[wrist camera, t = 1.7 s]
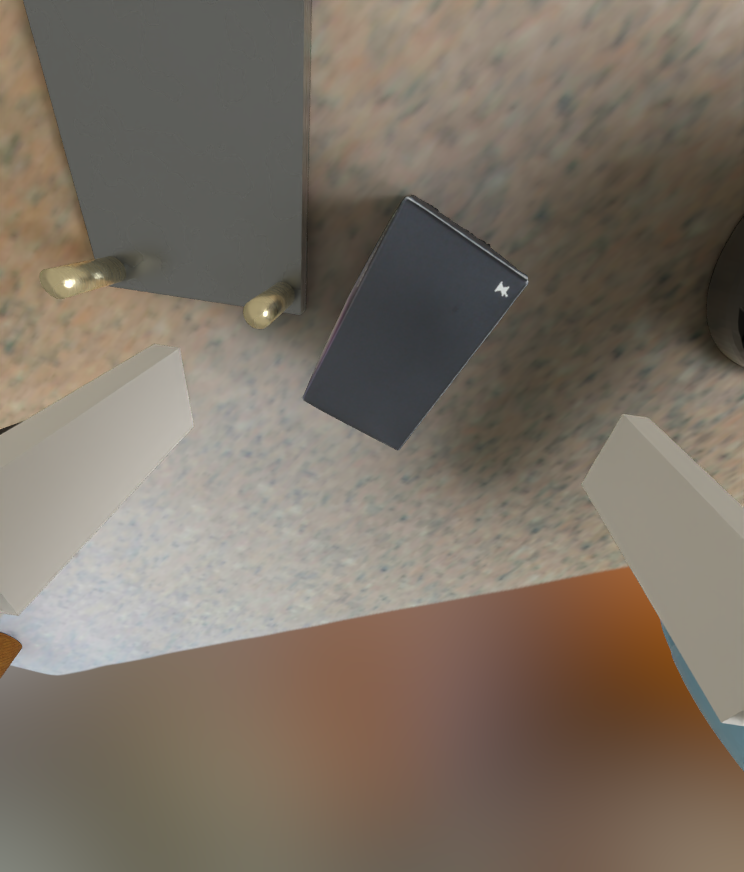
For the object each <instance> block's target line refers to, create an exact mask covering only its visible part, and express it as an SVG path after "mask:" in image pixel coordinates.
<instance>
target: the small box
mask: <svg viewBox="0 0 744 872" xmlns="http://www.w3.org/2000/svg"><path fill="white" fill-rule="evenodd" d="M527 285H528V277H527V275H526V274H524V273H522V272H521V271H519V270H517V269H516V268H515V267H514V266H513V265H512V264H510V263H509V262H508V261H507V260H506V259H504V258H503V257H502V256H500V255H499V254H498V253H497V252H495V251H494V250H493V249H492V248H490V244H486V243H485V242H484V241H482V240H480V239H478V238H476V237H475V236H474V235H473V234H472V233H470V232H469V231H468V230H465V229H463V228H462V227H460V226H459V225H458V224H456V223H455V222H453V221H451V220H450V219H449V218H447V217H446V216H444V215H443V214H441V213H440V212H439V211H438V209H436V208H434V207H433V206H432V205H429V204H428V203H426V202H424V201H422V200H421V199H419V198H417V197H416V196H414V195H411V196H408V197H405V198H404V199H403V201H402V202H401V204H400V206H399V207H398V209H397V210H396V212H395V213H394V215H393V217H392V218H391V220H390V222H389V223H388V225H387V227H386V229H385V230H384V232H383V234H382V235H381V237H380V239H379V241H378V243H377V245H376V246H375V248H374V250H373V252H372V254H371V256H370V257H369V259H368V261H367V263H366V265H365V267H364V268H363V270H362V272H361V274H360V276H359V278H358V280H357V281H356V283H355V285H354V287H353V289H352V291H351V293H350V295H349V297H348V299H347V301H346V303H345V305H344V307H343V309H342V311H341V313H340V316H339V318H338V320H337V322H336V324H335V326H334V328H333V330H332V332H331V334H330V337H329V339H328V341H327V343H326V345H325V347H324V349H323V352H322V354H321V356H320V358H319V360H318V362H317V365H316V367H315V369H314V372H313V374H312V376H311V379H310V381H309V383H308V386H307V388H306V391H305V393H304V395H303V400H304V401H306V402H307V403H309V404H311V405H312V406H314V407H316V408H318V409H319V410H321V411H323V412H325V413H327V414H329V415H331V416H333V417H335V418H336V419H338V420H340V421H342V422H344V423H346V424H347V425H350V426H352V427H354V428H356V429H357V430H359V431H361V432H363V433H365V434H367V435H369V436H371V437H373V438H374V439H376V440H378V441H380V442H382V443H384V444H386V445H388V446H390V447H392V448H394V449H396V450H400V449H401V447H402V446H403V445H404V443H405V442H406V441H407V440H408V438H409V437H410V436H411V434H412V433H413V432H414V430H415V429H416V428H417V427H418V425H419V424H420V423H421V422H422V420H423V419H424V418H425V416H426V415H427V414H428V412H429V411H430V410H431V409H432V407H433V406H434V405H435V403H436V402H437V401H438V400H439V398H440V397H441V396H442V395H443V393H444V392H445V391H446V390H447V388H448V387H449V386H450V384H451V383H452V382H453V380H454V379H455V378H456V377H457V375H458V374H459V373H460V371H461V370H462V369H463V367H464V366H465V365H466V364H467V362H468V361H469V359H470V358H471V357H472V356H473V354H474V353H475V352H476V351H477V349H478V348H479V347H480V346H481V344H482V343H483V342H484V340H485V339H486V338H487V336H488V335H489V334H490V333H491V331H492V330H493V329H494V328H495V326H496V325H497V324H498V322H499V321H500V320H501V318H502V317H503V316H504V314H505V313H506V312H507V311H508V309H509V308H510V306H511V305H512V304H513V303H514V301H515V300H516V299H517V297H518V296H519V295H520V294H521V292H522V291H523V290H524V289H525V287H526V286H527Z"/></svg>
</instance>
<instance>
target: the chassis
mask: <svg viewBox="0 0 744 872" xmlns="http://www.w3.org/2000/svg"><path fill="white" fill-rule="evenodd" d="M23 1H24V5H25V9H26V12H27V16H28V20H29V23H30V27H31V30H32V34H33V38H34V41H35V45H36V48H37V52H38V56H39V59H40V63H41V66H42V70H43V74H44V77H45V81H46V84H47V88H48V92H49V95H50V99H51V102H52V106H53V110H54V113H55V117H56V120H57V124H58V128H59V131H60V135H61V138H62V142H63V146H64V149H65V153H66V157H67V160H68V164H69V167H70V171H71V175H72V178H73V182H74V185H75V189H76V193H77V196H78V200H79V203H80V207H81V211H82V214H83V218H84V221H85V225H86V229H87V232H88V236H89V239H90V243H91V247H92V250H93V254H94V257H95V259H93V260H88V261H83V262H78V263H73V264H69V265H64V266H59V267H54V268H49V269H45V270H43V271H41V273H40V282H41V285H42V286H43V288H44V289H45V290H46V292H47V293H48V294H50V295H51V296H53V297H55V298H57V299H65V298H69V297H72V296H75V295H79V294H82V293H85V292H89V291H92V290H95V289H98V288H102V287H105V286H110V287H117V288H124V289H130V290H137V291H144V292H150V293H157V294H164V295H170V296H177V297H183V298H190V299H197V300H203V301H210V302H217V303H223V304H230V305H237V306H243V307H244V309H243V315H244V318H245V320H246V322H247V323H248V324H249V325H250V326H252V327H253V328H256V329H264V328H266V327H267V326H269V325H270V324H271V323H272V322H273V321H274V320H275V319H276V318H277V317H278V316H279V315H281V314H282V313H290V314H297V315H301V314H302V313H303V312H304V311H305V310H306V275H307V223H308V172H309V121H310V69H311V18H312V0H23Z"/></svg>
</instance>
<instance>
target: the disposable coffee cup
mask: <svg viewBox="0 0 744 872" xmlns="http://www.w3.org/2000/svg"><path fill="white" fill-rule="evenodd" d="M21 649H22V645H21V644H20V642H18V641H17V640H16V639H14V638H13V637H11V636H8V635H6V634H4V633H0V678H1V677H2V675H3V674H4V673H5V671H6V669H7V668H8V667H9V666H10V664H11V663H12V661H13V660H14V658H15V657H16V656H17V654H18V653H19V651H20V650H21Z"/></svg>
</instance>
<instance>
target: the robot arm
mask: <svg viewBox="0 0 744 872" xmlns="http://www.w3.org/2000/svg"><path fill="white" fill-rule="evenodd" d="M707 321H708V326H709V330H710V333H711V336H712V338H713V340H714V342H715V343H716V345H717V347H718V348H719V349H720V350H721V352H722V353H723V354H724V355H725V356H727V357H728V358H729V359H730V360H732V361H733V362H735V363H737V364H738V365H740V366H742V367H744V217H743V218H742V220H741V221H740V223H739V224H738V225H737V227H736V228H735V230H734V232H733V233H732V235H731V236H730V238H729V240H728V242H727V243H726V245H725V247H724V249H723V251H722V253H721V255H720V257H719V259H718V262H717V264H716V267H715V269H714V272H713V275H712V278H711V282H710V286H709V291H708V296H707ZM193 427H194V423H193V417H192V412H191V406H190V401H189V395H188V390H187V384H186V379H185V373H184V368H183V362H182V357H181V351H180V348H178V347H171V346H165V345H158V344H153V345H151V346H150V347H148V348H146V349H145V350H143V351H141V352H140V353H138V354H136V355H135V356H133V357H131V358H129V359H128V360H126V361H124V362H123V363H121V364H119V365H118V366H116V367H114V368H113V369H111V370H109V371H108V372H106V373H104V374H102V375H101V376H99V377H97V378H96V379H94V380H92V381H91V382H89V383H87V384H86V385H84V386H82V387H80V388H79V389H77V390H75V391H74V392H72V393H70V394H69V395H67V396H65V397H64V398H62V399H60V400H58V401H57V402H55V403H53V404H52V405H50V406H48V407H47V408H45V409H43V410H42V411H40V412H38V413H37V414H35V415H33V416H31V417H30V418H28V419H26V420H25V421H22V422H20V423H17V424H14V425H11V426H9V427H6V428H3V429H0V613H3V614H10V615H16V616H19V615H20V614H21V613H22V612H23V611H24V610H25V609H26V607H27V606H28V605H29V604H30V603H31V602H32V601H33V600H34V599H35V598H36V597H37V596H38V594H39V593H40V592H41V591H42V590H43V589H44V588H45V587H46V586H47V585H48V584H49V583H50V581H51V580H52V579H53V578H54V577H55V576H56V575H57V574H58V573H59V572H60V571H61V570H62V568H63V567H64V566H65V565H66V564H67V563H68V562H69V561H70V560H71V559H72V558H73V557H74V556H75V554H76V553H77V552H78V551H79V550H80V549H81V548H82V547H83V546H84V545H85V544H86V543H87V541H88V540H89V539H90V538H91V537H92V536H93V535H94V534H95V533H96V532H97V531H98V530H99V528H100V527H101V526H102V525H103V524H104V523H105V522H106V521H107V520H108V519H109V518H110V517H111V515H112V514H113V513H114V512H115V511H116V510H117V509H118V508H119V507H120V506H121V505H122V504H123V502H124V501H125V500H126V499H127V498H128V497H129V496H130V495H131V494H132V493H133V492H134V491H135V490H136V488H137V487H138V486H139V485H140V484H141V483H142V482H143V481H144V480H145V479H146V478H147V477H148V475H149V474H150V473H151V472H152V471H153V470H154V469H155V468H156V467H157V466H158V465H159V464H160V462H161V461H162V460H163V459H164V458H165V457H166V456H167V455H168V454H169V453H170V452H171V451H172V449H173V448H174V447H175V446H176V445H177V444H178V443H179V442H180V441H181V440H182V439H183V438H184V436H185V435H186V434H187V433H188V432H189V431H190V430H191V429H192V428H193ZM581 485H582V487H583V488H584V490H585V492H586V493H587V495H588V497H589V499H590V500H591V502H592V504H593V505H594V507H595V509H596V510H597V512H598V514H599V516H600V517H601V519H602V521H603V522H604V524H605V526H606V527H607V529H608V531H609V533H610V534H611V536H612V538H613V539H614V541H615V543H616V544H617V546H618V548H619V550H620V551H621V553H622V555H623V556H624V558H625V560H626V561H627V563H628V565H629V567H630V568H631V570H632V572H633V573H634V575H635V577H636V579H637V580H638V582H639V583H640V585H641V587H642V588H643V590H644V592H645V594H646V596H647V597H648V599H649V601H650V602H651V604H652V606H653V607H654V609H655V611H656V612H657V614H658V616H659V618H660V620H661V625H662V629H663V632H664V635H665V638H666V640H667V642H668V645H669V647H670V649H671V653H672V658H673V660H674V662H675V664H676V666H677V668H678V671H679V673H680V675H681V677H682V679H683V681H684V683H685V684H686V686H687V688H688V690H689V692H690V694H691V695H692V697H693V699H694V701H695V702H696V704H697V705H698V707H699V709H700V711H701V712H702V714H703V715H704V717H705V718H706V720H707V722H708V723H709V725H710V726H711V728H712V729H713V730H714V732H715V733H716V734H717V736H718V738H719V739H720V740H721V742H722V743H723V745H724V746H725V747H726V749H727V750H728V751H729V753H730V754H731V755H732V757H733V758H734V759H735V761H736V762H737V763H738V765H739V766H740V767H741V768H742V770H743V771H744V507H743V506H742V505H741V504H740V503H739V502H738V501H736V500H735V499H734V498H733V497H732V496H731V495H730V494H729V493H728V492H727V491H726V490H725V489H724V488H723V487H722V486H721V485H720V484H718V483H717V482H716V481H715V480H714V479H713V478H712V477H711V476H710V475H709V474H708V473H707V472H706V471H705V470H704V469H703V468H701V467H700V466H699V465H698V464H697V463H696V462H695V461H694V460H693V459H692V458H691V457H690V456H689V455H688V454H687V453H686V452H684V451H683V450H682V449H681V448H680V447H679V446H678V445H677V444H676V443H675V442H674V441H673V440H672V439H671V438H670V437H669V436H668V435H666V434H665V433H664V432H663V431H662V430H661V429H660V428H659V427H658V426H657V425H656V424H655V423H654V422H653V421H652V420H651V419H649V418H648V417H641V416H634V415H627V414H622V416H621V417H620V419H619V421H618V422H617V424H616V426H615V428H614V429H613V431H612V433H611V434H610V436H609V438H608V439H607V441H606V443H605V444H604V446H603V448H602V450H601V451H600V453H599V455H598V456H597V458H596V460H595V461H594V463H593V465H592V466H591V468H590V470H589V472H588V473H587V475H586V477H585V478H584V480H583V482H582V483H581Z"/></svg>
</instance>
